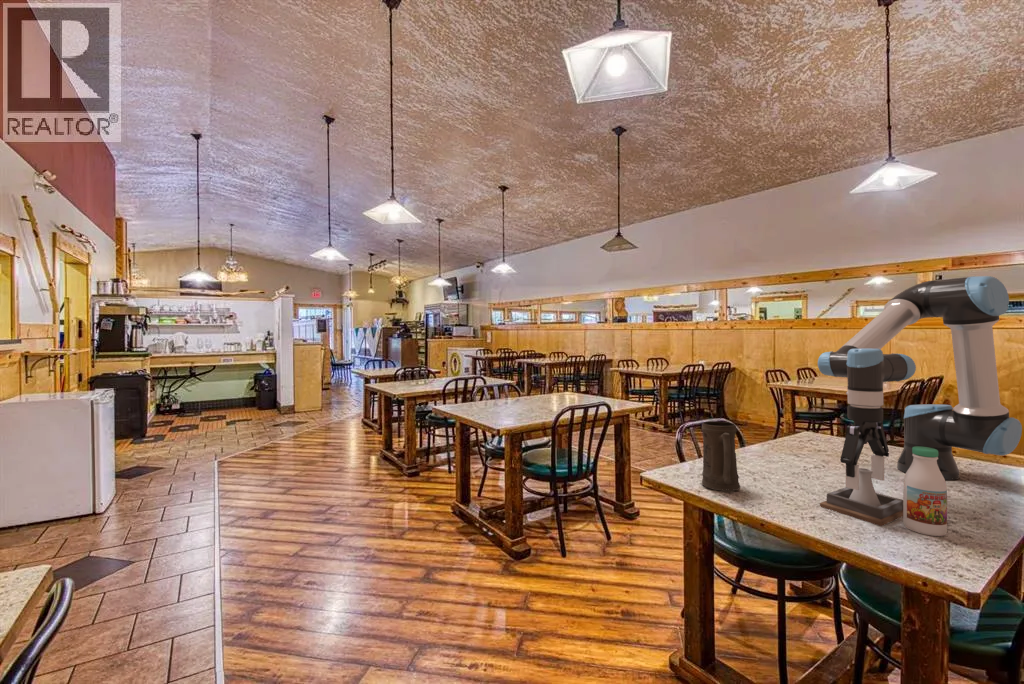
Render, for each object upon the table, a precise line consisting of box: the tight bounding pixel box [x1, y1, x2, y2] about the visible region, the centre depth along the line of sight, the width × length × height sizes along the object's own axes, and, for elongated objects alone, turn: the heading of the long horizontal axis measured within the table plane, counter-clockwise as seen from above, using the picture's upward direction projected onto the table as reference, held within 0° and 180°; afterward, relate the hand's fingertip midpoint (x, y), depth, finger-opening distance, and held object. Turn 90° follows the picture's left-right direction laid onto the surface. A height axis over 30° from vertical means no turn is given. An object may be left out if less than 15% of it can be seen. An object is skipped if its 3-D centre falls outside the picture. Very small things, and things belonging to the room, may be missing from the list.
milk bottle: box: [902, 446, 948, 537], centre depth 105 cm, size 8×8×20 cm
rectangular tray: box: [819, 486, 903, 527], centre depth 118 cm, size 16×14×4 cm
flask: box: [849, 467, 881, 507], centre depth 118 cm, size 7×7×10 cm
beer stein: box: [701, 421, 741, 492], centre depth 134 cm, size 15×11×20 cm
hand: (865, 483), depth 118 cm, fingers open, 13 cm apart
